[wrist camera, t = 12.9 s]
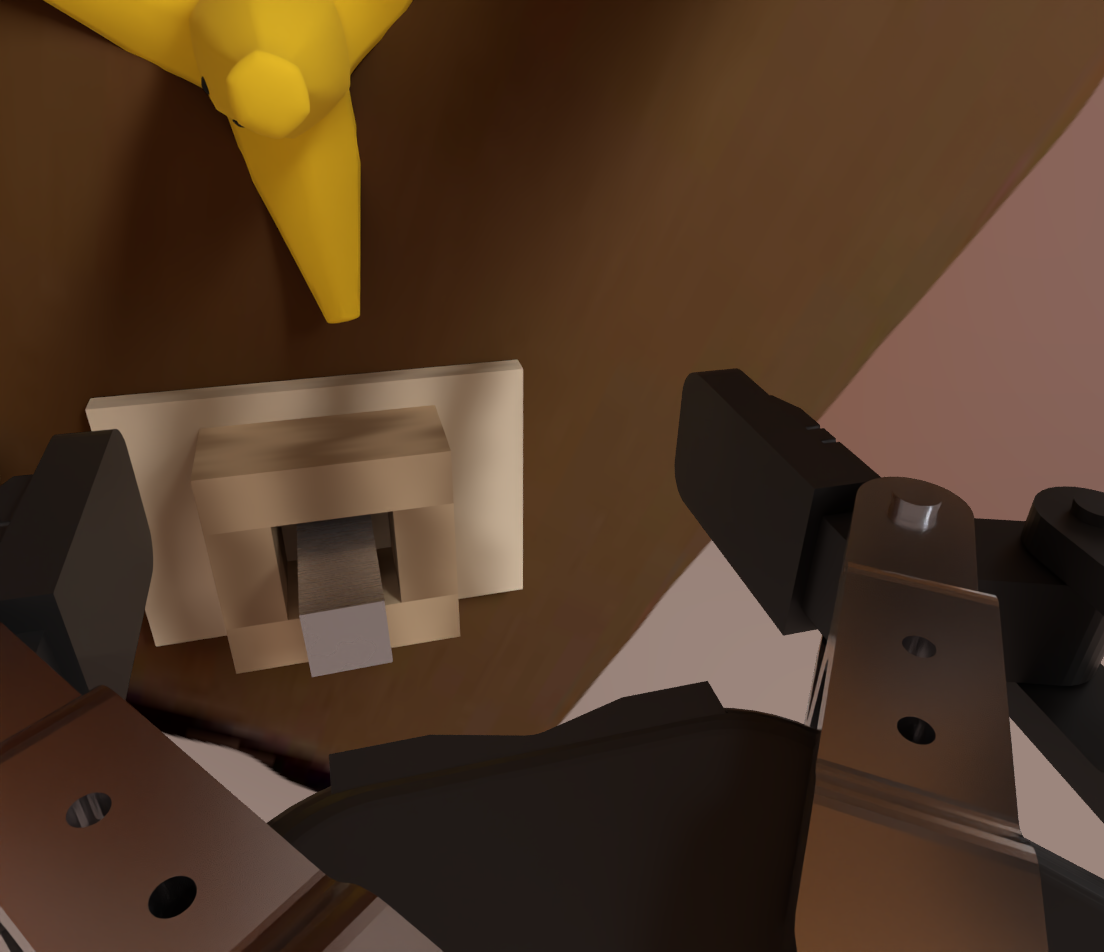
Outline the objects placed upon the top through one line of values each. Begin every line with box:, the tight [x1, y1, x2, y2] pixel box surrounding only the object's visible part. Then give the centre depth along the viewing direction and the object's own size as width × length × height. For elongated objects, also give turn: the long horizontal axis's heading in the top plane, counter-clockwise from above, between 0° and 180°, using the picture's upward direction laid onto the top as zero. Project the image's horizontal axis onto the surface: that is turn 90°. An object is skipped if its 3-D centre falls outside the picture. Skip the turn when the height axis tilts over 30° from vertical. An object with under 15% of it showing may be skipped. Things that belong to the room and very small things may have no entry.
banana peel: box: [43, 0, 413, 323], centre depth 26 cm, size 16×19×17 cm
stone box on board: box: [85, 360, 523, 674], centre depth 42 cm, size 20×14×6 cm
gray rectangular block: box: [297, 514, 393, 677], centre depth 39 cm, size 3×3×10 cm
